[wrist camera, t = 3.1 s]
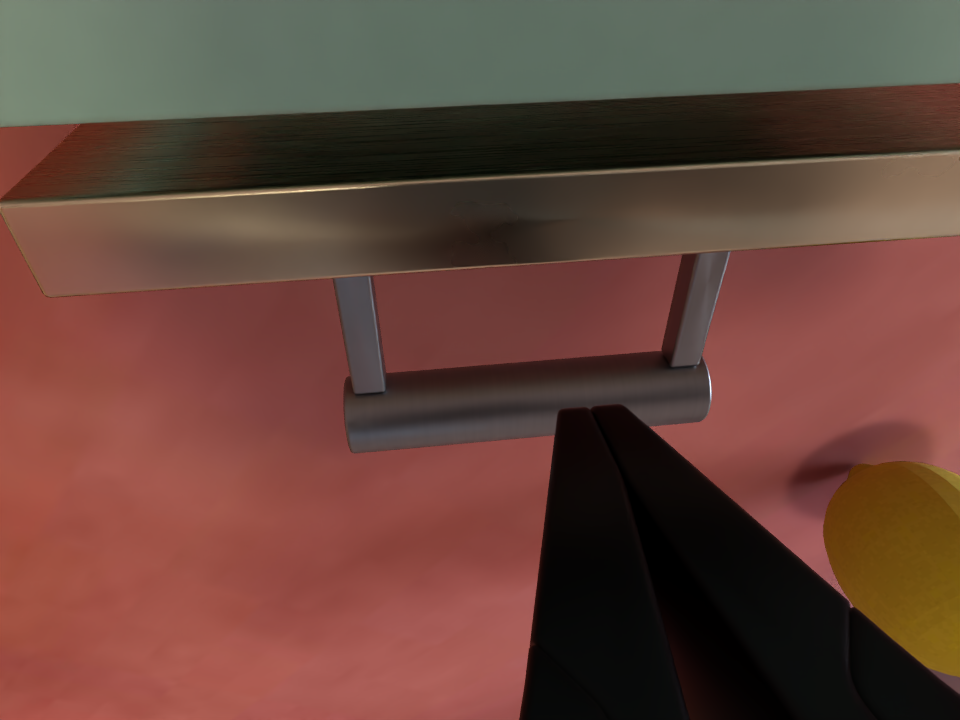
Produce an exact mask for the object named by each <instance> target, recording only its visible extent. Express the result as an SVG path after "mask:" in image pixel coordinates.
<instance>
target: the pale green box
mask: <svg viewBox="0 0 960 720" xmlns="http://www.w3.org/2000/svg"><path fill="white" fill-rule="evenodd" d="M955 83H960V0H0V127H20V126H42V125H63V124H85V123H107V122H129V121H150V120H172V119H194V118H216V117H237V116H259V115H281V114H303V113H324V112H346V111H368V110H390V109H411V108H433V107H455V106H477V105H499V104H520V103H542V102H564V101H586V100H607V99H629V98H651V97H673V96H694V95H716V94H738V93H760V92H781V91H803V90H825V89H847V88H868V87H890V86H912V85H934V84H955Z"/></svg>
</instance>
